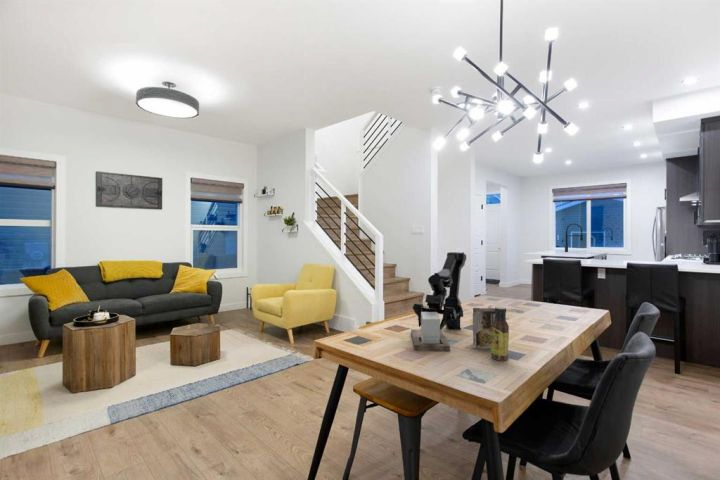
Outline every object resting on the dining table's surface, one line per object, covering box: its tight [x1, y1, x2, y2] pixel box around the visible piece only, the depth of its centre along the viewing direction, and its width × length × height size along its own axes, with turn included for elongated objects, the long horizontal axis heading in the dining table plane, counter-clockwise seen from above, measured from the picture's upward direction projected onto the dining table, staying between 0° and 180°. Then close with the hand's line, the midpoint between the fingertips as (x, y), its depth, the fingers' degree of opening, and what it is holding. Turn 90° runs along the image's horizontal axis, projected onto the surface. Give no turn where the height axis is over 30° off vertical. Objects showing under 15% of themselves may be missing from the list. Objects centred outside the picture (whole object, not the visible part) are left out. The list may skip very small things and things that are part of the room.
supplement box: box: [420, 312, 441, 344], centre depth 153 cm, size 7×7×13 cm
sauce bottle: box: [490, 306, 510, 361], centre depth 138 cm, size 6×6×20 cm
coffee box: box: [472, 307, 495, 350], centre depth 152 cm, size 9×6×16 cm
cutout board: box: [410, 329, 451, 352], centre depth 159 cm, size 14×24×2 cm, turn 175°
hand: (429, 327), depth 153 cm, fingers closed on supplement box, 9 cm apart
